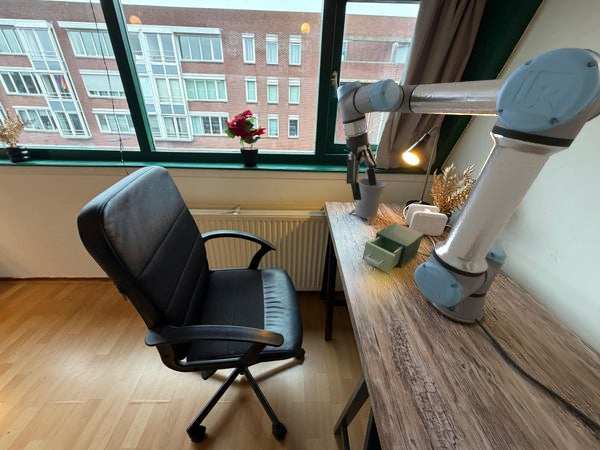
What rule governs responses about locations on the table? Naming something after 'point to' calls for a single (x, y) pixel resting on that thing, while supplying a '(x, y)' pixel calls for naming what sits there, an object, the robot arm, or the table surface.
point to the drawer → (383, 253)
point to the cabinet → (402, 240)
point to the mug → (368, 198)
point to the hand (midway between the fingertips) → (365, 192)
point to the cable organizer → (426, 219)
